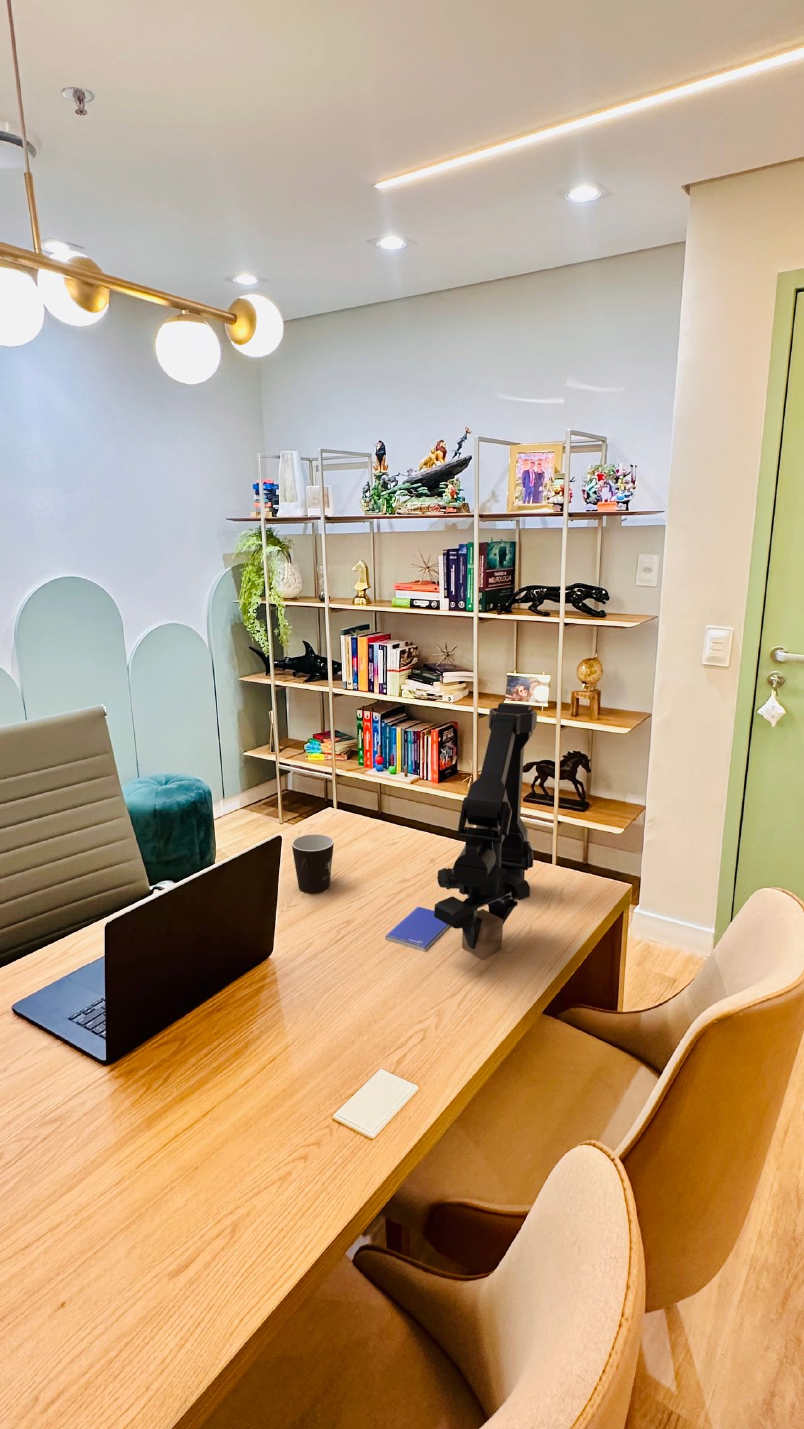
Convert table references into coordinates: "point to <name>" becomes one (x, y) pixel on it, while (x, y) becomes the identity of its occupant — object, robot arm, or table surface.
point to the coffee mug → (313, 862)
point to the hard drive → (418, 930)
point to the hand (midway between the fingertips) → (482, 942)
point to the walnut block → (486, 936)
